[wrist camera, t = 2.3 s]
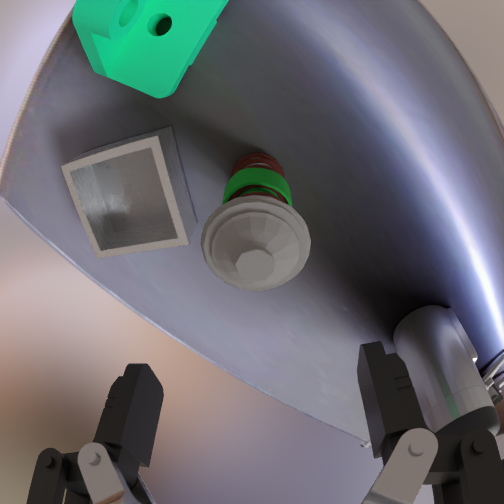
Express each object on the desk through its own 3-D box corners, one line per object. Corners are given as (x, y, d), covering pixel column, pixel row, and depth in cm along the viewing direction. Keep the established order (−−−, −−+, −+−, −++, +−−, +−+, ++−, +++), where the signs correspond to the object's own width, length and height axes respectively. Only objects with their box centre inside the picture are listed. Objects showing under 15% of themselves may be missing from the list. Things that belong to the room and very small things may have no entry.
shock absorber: (267, 216, 32) (271, 325, 19) (212, 185, 30) (176, 280, 17) (304, 165, 29) (339, 250, 16) (246, 130, 27) (232, 187, 14)
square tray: (172, 125, 27) (157, 135, 23) (197, 221, 32) (189, 244, 28) (83, 152, 28) (60, 166, 24) (113, 236, 33) (97, 258, 30)
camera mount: (173, 99, 26) (131, 115, 17) (106, 70, 24) (43, 78, 15) (238, -10, 20) (227, -49, 11) (165, -36, 18) (123, -74, 9)
